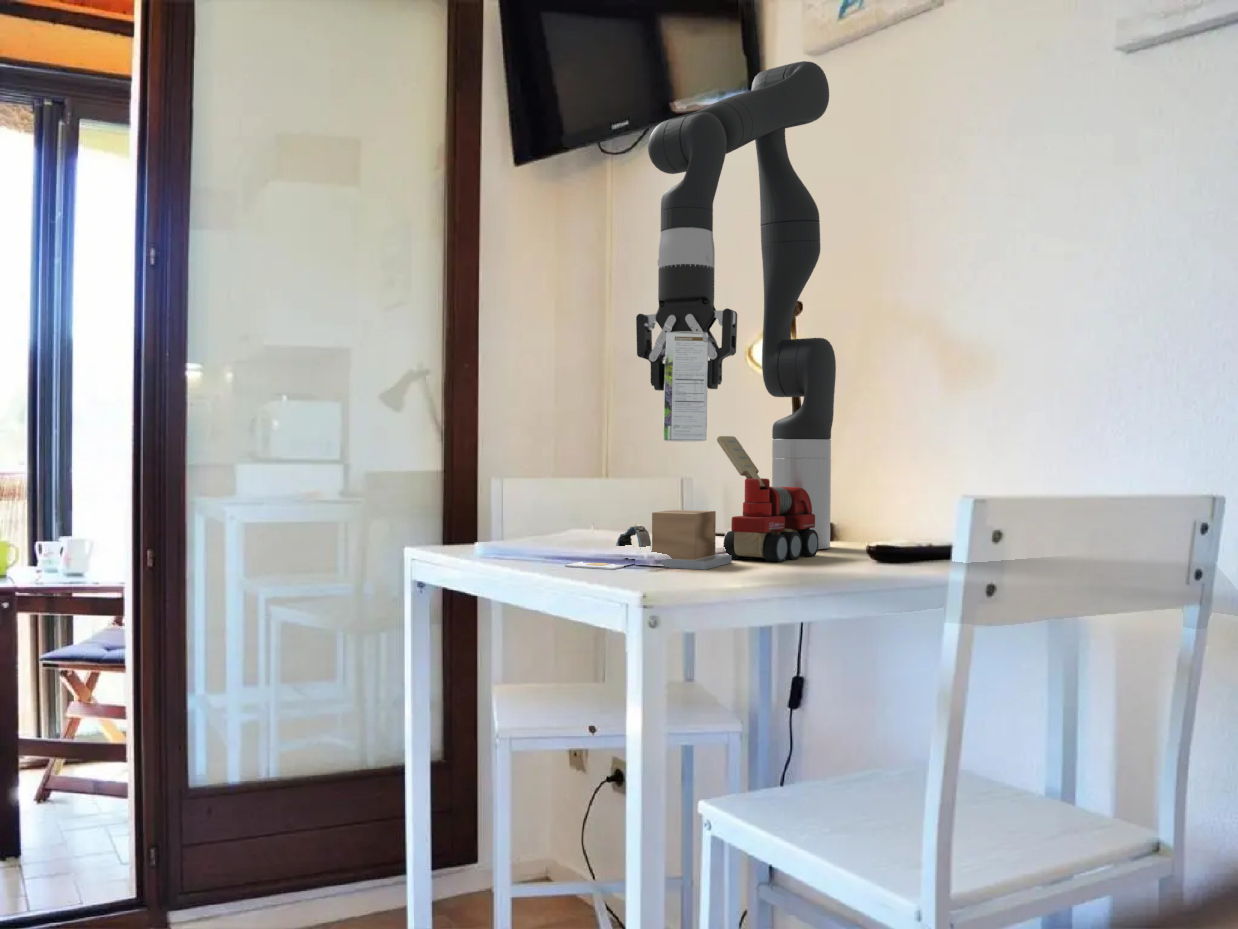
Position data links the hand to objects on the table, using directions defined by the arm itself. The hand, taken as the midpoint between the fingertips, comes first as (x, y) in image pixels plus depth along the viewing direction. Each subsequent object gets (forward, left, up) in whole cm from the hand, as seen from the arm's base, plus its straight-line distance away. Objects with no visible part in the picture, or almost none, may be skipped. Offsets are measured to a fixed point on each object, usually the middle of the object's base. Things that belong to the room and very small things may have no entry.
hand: (685, 389), depth 141 cm
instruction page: (+6, -9, -24) cm, 26 cm away
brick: (0, 0, -22) cm, 22 cm away
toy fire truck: (-15, +6, -24) cm, 29 cm away
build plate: (0, 0, -24) cm, 24 cm away
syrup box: (0, 0, -7) cm, 7 cm away
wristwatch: (-3, -9, -24) cm, 26 cm away
